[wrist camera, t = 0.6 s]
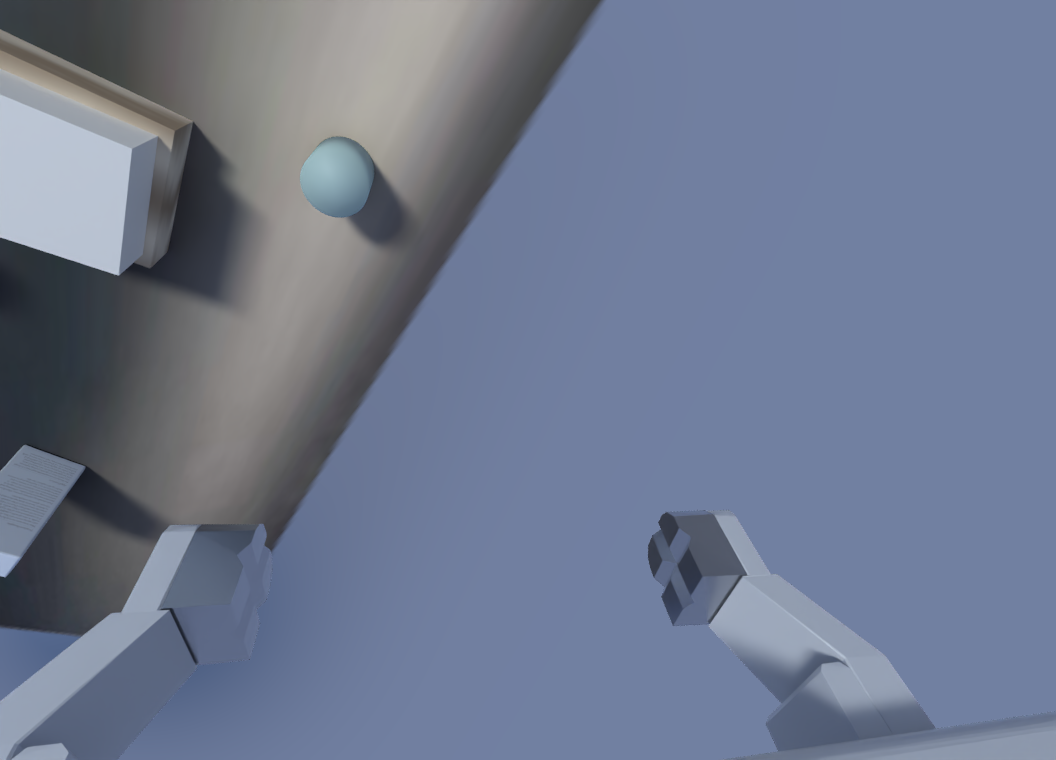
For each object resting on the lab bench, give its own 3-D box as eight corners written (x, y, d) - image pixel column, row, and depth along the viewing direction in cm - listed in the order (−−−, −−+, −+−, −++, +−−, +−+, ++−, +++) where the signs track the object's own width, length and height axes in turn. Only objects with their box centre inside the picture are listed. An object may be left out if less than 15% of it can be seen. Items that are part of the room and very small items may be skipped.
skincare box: (11, 464, 56) (-75, 559, 46) (25, 442, 54) (-61, 535, 45) (73, 486, 59) (5, 579, 50) (89, 466, 58) (21, 557, 48)
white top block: (-21, 59, 32) (-70, 65, 29) (158, 136, 36) (132, 148, 33) (-15, 200, 37) (-57, 218, 34) (142, 254, 41) (118, 275, 38)
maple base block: (0, 27, 35) (-43, 30, 31) (195, 120, 40) (174, 130, 36) (-2, 185, 40) (-39, 201, 37) (169, 249, 45) (150, 268, 42)
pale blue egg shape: (323, 124, 41) (311, 137, 37) (383, 155, 43) (377, 171, 39) (305, 180, 43) (292, 199, 39) (362, 207, 45) (355, 228, 41)
